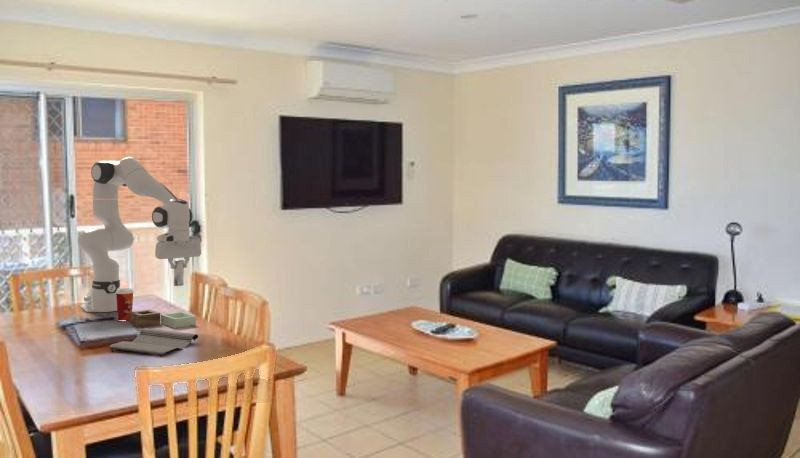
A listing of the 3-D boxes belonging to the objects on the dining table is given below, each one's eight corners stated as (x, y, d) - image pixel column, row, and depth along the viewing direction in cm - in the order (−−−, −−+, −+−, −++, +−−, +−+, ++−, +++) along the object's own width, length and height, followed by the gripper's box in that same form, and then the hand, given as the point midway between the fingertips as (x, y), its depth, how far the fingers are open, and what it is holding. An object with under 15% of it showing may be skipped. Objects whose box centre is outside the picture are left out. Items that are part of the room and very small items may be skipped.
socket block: (130, 323, 290) (130, 312, 290) (150, 320, 297) (150, 309, 297) (139, 327, 284) (139, 315, 284) (160, 324, 291) (160, 312, 291)
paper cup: (129, 322, 292) (129, 291, 291) (112, 322, 292) (112, 290, 291) (137, 318, 300) (137, 288, 299) (120, 318, 300) (120, 287, 299)
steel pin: (172, 285, 290) (172, 260, 290) (180, 284, 293) (180, 259, 293) (176, 286, 288) (176, 261, 287) (185, 285, 291) (185, 260, 290)
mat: (107, 353, 244) (107, 340, 244) (146, 338, 267) (147, 327, 267) (163, 359, 239) (163, 346, 238) (198, 344, 262) (198, 332, 261)
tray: (160, 323, 292) (160, 314, 292) (181, 320, 300) (181, 311, 299) (174, 328, 284) (174, 319, 284) (195, 325, 292) (195, 316, 291)
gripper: (196, 234, 299) (196, 265, 300) (153, 236, 284) (153, 269, 285) (204, 236, 295) (203, 267, 296) (160, 238, 280) (160, 270, 281)
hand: (178, 268), depth 290 cm, fingers closed on steel pin, 4 cm apart
